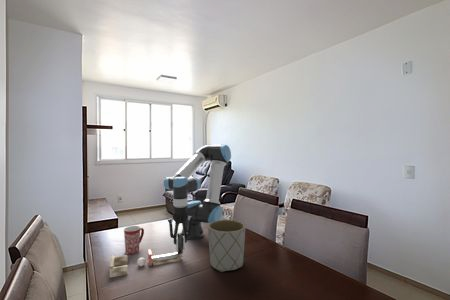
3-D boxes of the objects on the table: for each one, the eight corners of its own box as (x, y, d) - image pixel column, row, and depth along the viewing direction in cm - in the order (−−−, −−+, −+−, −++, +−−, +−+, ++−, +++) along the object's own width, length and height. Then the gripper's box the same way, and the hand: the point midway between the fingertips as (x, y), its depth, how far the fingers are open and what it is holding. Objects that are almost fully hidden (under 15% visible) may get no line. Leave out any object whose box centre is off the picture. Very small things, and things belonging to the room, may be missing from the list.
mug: (130, 256, 126) (131, 232, 126) (120, 253, 131) (120, 229, 131) (148, 248, 137) (148, 225, 137) (138, 245, 142) (138, 223, 142)
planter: (218, 278, 106) (218, 234, 106) (202, 260, 122) (202, 222, 122) (252, 268, 114) (252, 228, 114) (233, 252, 131) (233, 217, 131)
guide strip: (178, 256, 126) (179, 251, 126) (180, 260, 122) (180, 254, 122) (152, 261, 121) (152, 255, 121) (153, 265, 117) (153, 259, 117)
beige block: (127, 262, 119) (127, 253, 119) (127, 274, 108) (127, 263, 108) (111, 265, 116) (111, 255, 116) (109, 277, 105) (109, 266, 105)
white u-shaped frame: (181, 255, 127) (181, 231, 127) (184, 260, 122) (184, 235, 122) (148, 261, 121) (148, 236, 121) (149, 266, 115) (149, 240, 115)
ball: (145, 263, 119) (145, 255, 119) (145, 266, 115) (145, 258, 115) (137, 264, 117) (137, 256, 117) (137, 268, 114) (137, 260, 114)
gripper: (193, 203, 131) (192, 244, 131) (164, 205, 124) (163, 249, 124) (196, 206, 124) (196, 249, 124) (166, 208, 117) (166, 254, 117)
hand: (180, 249), depth 124 cm, fingers closed on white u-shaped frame, 3 cm apart
